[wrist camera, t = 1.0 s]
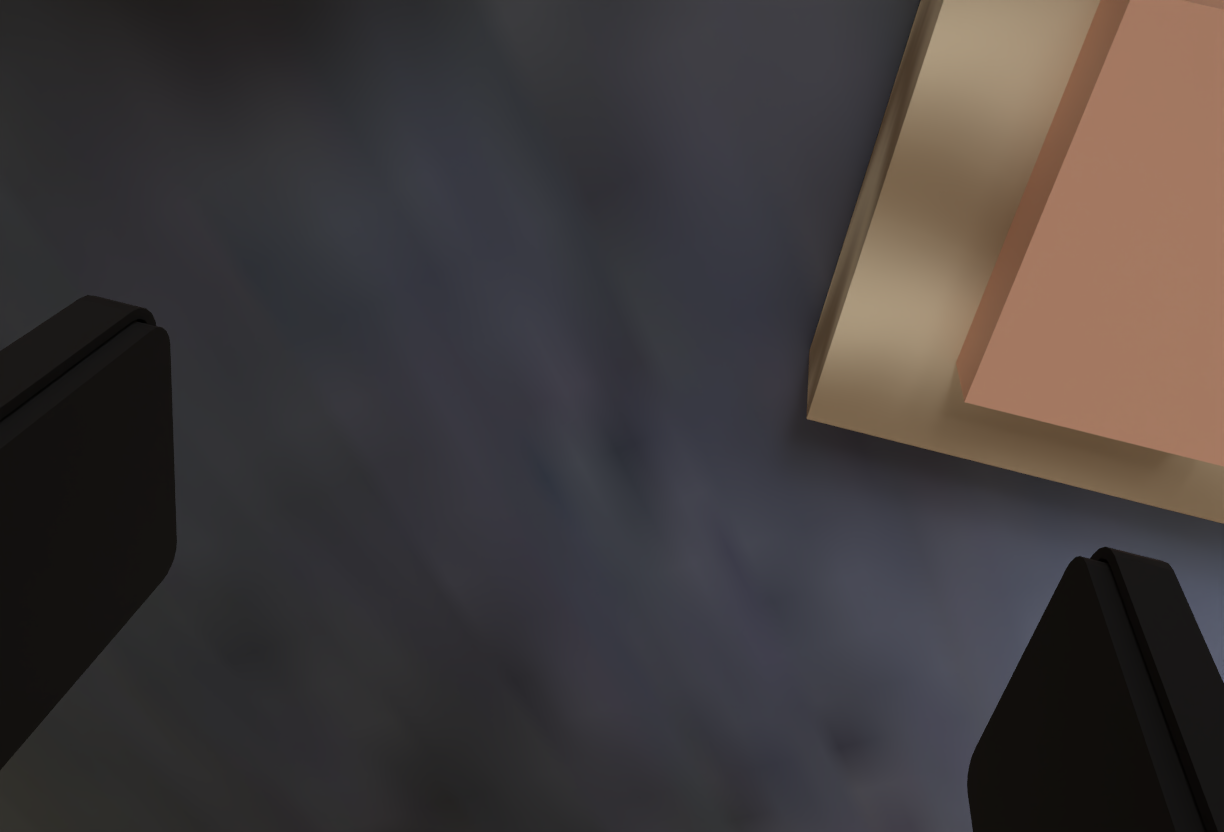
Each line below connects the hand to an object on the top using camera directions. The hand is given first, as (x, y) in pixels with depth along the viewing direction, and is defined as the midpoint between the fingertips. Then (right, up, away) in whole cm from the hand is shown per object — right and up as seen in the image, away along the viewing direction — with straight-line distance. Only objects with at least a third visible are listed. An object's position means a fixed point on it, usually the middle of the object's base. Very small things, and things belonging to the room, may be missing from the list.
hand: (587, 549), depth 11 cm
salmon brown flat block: (+12, +6, +13) cm, 19 cm away
